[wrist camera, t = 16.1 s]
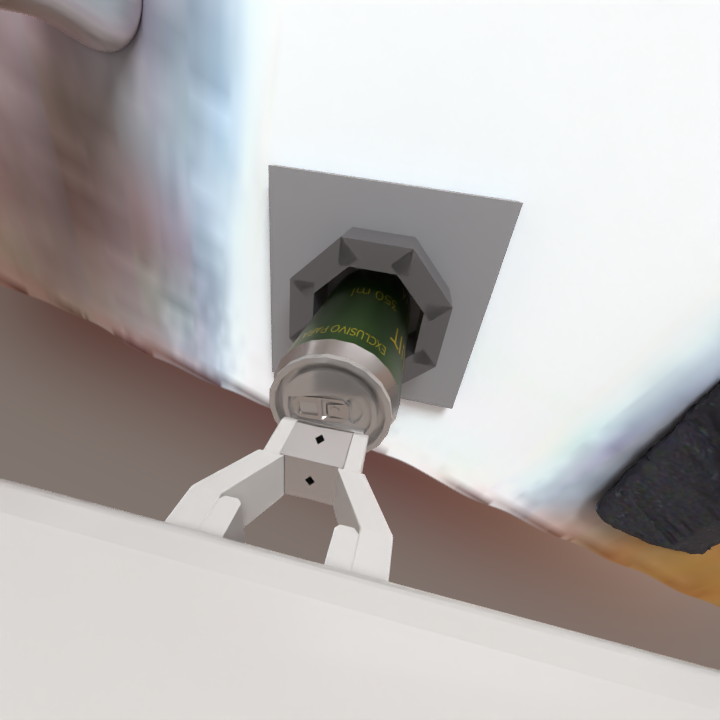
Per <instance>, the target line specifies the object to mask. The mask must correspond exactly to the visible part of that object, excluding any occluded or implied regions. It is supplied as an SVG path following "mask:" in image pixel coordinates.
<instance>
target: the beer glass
mask: <svg viewBox="0 0 720 720" xmlns="http://www.w3.org/2000/svg"><path fill="white" fill-rule="evenodd" d="M141 9H142V0H0V10H5V11H11V12H16V13H21V14H24V15H28V16H31V17H34V18H37V19H40V20H42V21H44V22H46V23H48V24H50V25H52V26H53V27H55V28H57V29H58V30H60V31H62V32H63V33H65V34H67V35H68V36H70V37H71V38H73V39H75V40H76V41H78V42H80V43H82V44H83V45H85V46H87V47H90V48H92V49H94V50H97V51H102V52H115V51H118V50H120V49H122V48H124V47H125V46H126V45H128V44H129V42H130V41H131V40H132V39H133V37H134V35H135V33H136V31H137V29H138V26H139V22H140V17H141Z"/></svg>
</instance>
